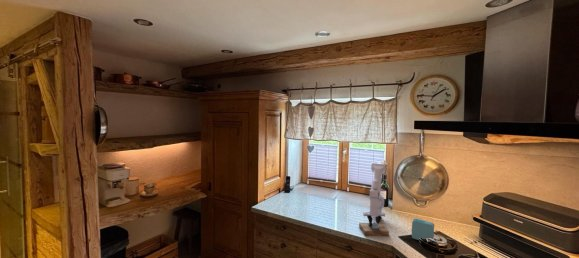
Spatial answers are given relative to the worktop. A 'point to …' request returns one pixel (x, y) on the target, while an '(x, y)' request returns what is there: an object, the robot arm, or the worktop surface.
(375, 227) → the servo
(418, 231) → the data package
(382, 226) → the board
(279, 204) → the worktop surface
